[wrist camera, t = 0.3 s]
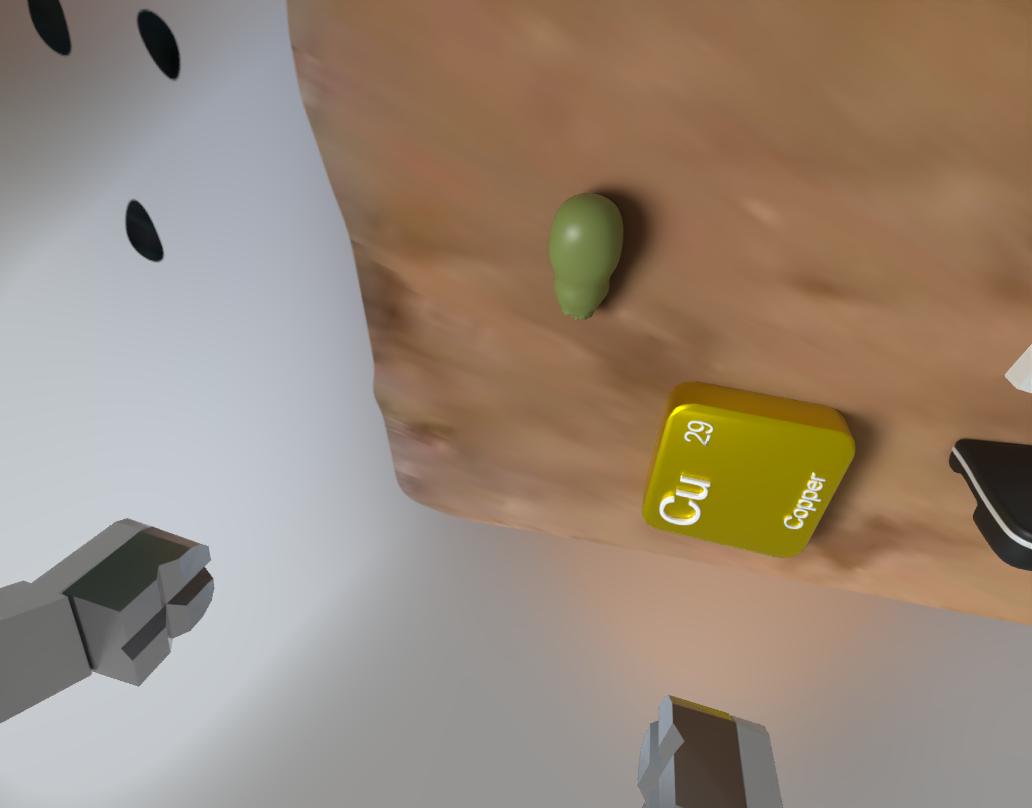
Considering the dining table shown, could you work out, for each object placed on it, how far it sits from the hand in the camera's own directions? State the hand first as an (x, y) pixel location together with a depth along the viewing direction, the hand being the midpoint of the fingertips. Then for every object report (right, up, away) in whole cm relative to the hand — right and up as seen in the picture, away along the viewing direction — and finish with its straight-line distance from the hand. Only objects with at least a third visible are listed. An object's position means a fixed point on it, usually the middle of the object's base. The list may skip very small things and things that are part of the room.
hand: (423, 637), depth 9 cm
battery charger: (+41, 0, +36) cm, 55 cm away
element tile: (+22, -1, +43) cm, 48 cm away
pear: (+8, +17, +36) cm, 40 cm away
